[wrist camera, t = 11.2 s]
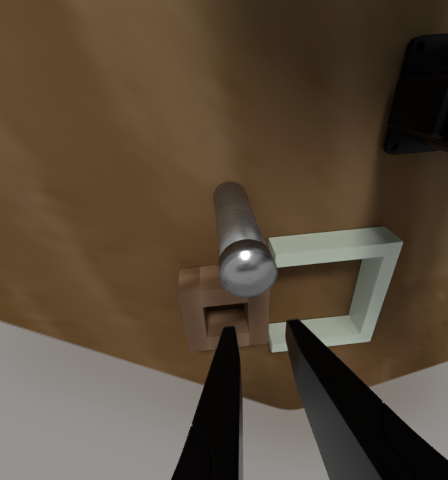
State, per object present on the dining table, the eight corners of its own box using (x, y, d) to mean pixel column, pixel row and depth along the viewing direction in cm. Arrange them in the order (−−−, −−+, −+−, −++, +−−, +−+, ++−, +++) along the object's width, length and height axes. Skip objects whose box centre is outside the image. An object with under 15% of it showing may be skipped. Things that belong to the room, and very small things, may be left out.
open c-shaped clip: (384, 226, 22) (403, 241, 20) (357, 322, 28) (369, 341, 26) (268, 237, 22) (275, 254, 20) (266, 332, 28) (271, 352, 26)
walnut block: (262, 260, 23) (270, 283, 20) (261, 317, 27) (268, 343, 24) (179, 268, 23) (177, 293, 20) (190, 325, 26) (189, 352, 24)
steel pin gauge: (247, 178, 19) (278, 248, 11) (248, 211, 20) (276, 294, 13) (210, 181, 19) (217, 254, 11) (213, 215, 20) (222, 299, 13)
